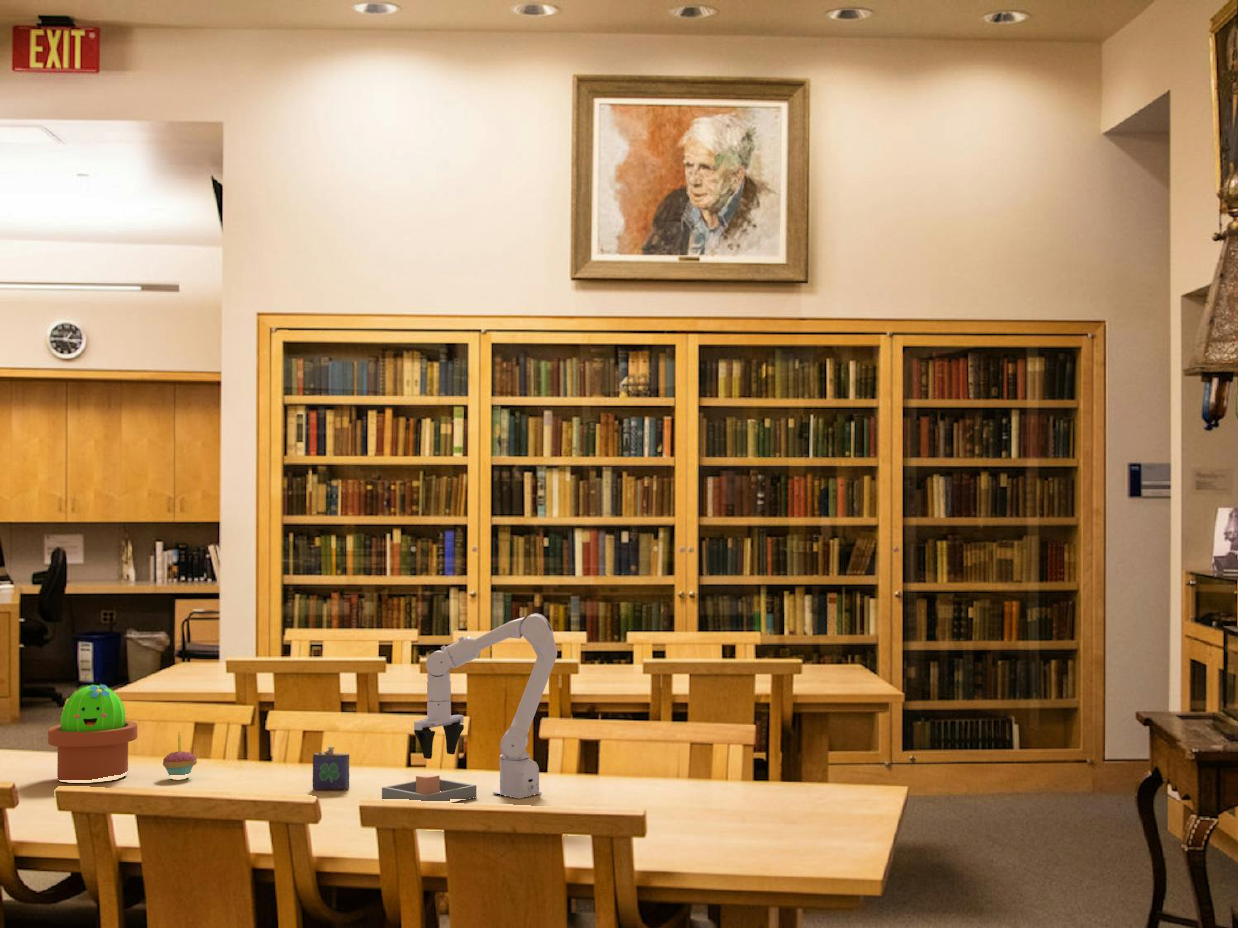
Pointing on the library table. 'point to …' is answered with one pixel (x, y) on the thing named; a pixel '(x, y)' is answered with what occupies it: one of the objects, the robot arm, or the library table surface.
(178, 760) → the cupcake
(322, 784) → the flask
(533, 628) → the robot arm
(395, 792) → the bin
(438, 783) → the block
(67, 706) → the potted cactus
